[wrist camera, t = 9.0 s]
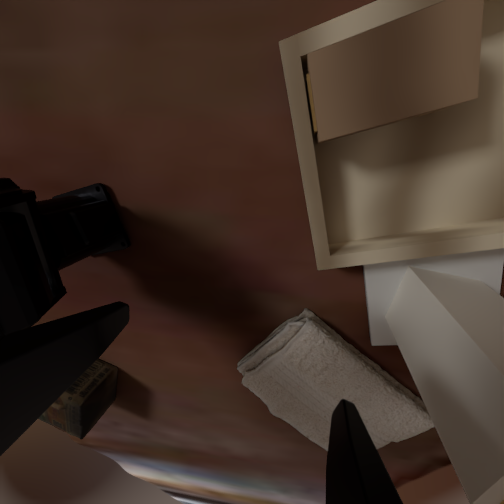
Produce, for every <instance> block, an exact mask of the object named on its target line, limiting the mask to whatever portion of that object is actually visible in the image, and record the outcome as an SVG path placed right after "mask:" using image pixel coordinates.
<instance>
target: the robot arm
mask: <svg viewBox="0 0 504 504" xmlns="http://www.w3.org/2000/svg"><path fill="white" fill-rule="evenodd" d="M99 188H100V189H99ZM35 199H36V195H35V192H34V191H32V190H22V189H20V187H19V186H17V185H16V184H15V183H14V182H13V181H12V180H11V179H10V178H0V456H1V455H2V454H3V453H4V452H5V451H6V450H7V449H8V448H9V447H10V446H11V445H12V444H13V443H14V442H15V441H16V440H17V439H18V438H19V437H20V436H21V435H22V434H23V433H24V432H25V431H26V430H27V429H28V428H29V427H30V426H31V425H32V424H33V423H34V422H35V421H36V420H37V419H38V418H39V417H40V416H41V415H42V414H43V413H44V412H45V411H46V410H47V409H48V408H49V407H50V406H51V405H52V404H53V403H54V402H55V401H56V400H57V399H58V398H59V397H60V396H61V395H62V394H63V393H64V392H65V391H66V390H67V389H68V388H69V387H70V386H71V385H72V384H73V383H74V382H75V381H76V380H77V379H78V378H79V377H80V376H81V375H82V374H83V373H84V372H85V371H86V370H87V369H88V368H89V367H90V366H91V365H92V364H93V363H94V362H95V361H96V360H97V359H98V358H99V357H100V356H101V355H102V354H103V352H104V351H105V350H106V349H107V348H108V347H109V345H110V344H111V343H112V342H113V341H114V339H115V338H116V337H117V336H118V335H119V333H120V332H121V331H122V330H123V329H124V327H125V326H126V325H127V323H128V322H129V305H128V304H126V303H123V302H121V301H119V302H115V303H111V304H108V305H104V306H101V307H98V308H94V309H91V310H87V311H84V312H81V313H77V314H74V315H70V316H67V317H63V318H60V319H57V320H53V321H50V322H46V323H43V324H40V325H36V326H33V327H31V326H32V325H34V324H35V323H36V322H38V321H39V320H40V319H41V317H42V316H43V315H44V314H45V313H46V312H47V311H48V310H49V309H50V308H51V307H52V306H53V305H55V304H56V303H57V302H58V301H59V300H60V299H61V298H62V297H63V296H64V295H65V294H66V293H67V292H66V289H65V287H64V286H63V284H62V280H61V277H60V274H59V270H61V269H63V268H65V267H67V266H69V265H72V264H74V263H76V262H78V261H80V260H82V259H84V258H86V257H89V256H91V255H96V254H101V253H106V252H111V251H117V250H122V249H126V248H128V247H130V241H129V239H128V237H127V235H126V232H125V230H124V228H123V226H122V223H121V221H120V219H119V217H118V214H117V212H116V210H115V208H114V205H113V203H112V201H111V199H110V196H109V194H108V192H107V190H106V187H105V186H104V185H103V184H102V183H97V184H93V185H90V186H87V187H83V188H80V189H77V190H74V191H70V192H67V193H64V194H61V195H57V196H54V197H53V198H52V199H49V200H43V201H38V202H36V200H35ZM124 243H125V244H124ZM326 504H403V503H402V501H401V499H400V497H399V494H398V492H397V490H396V488H395V486H394V484H393V482H392V480H391V478H390V476H389V474H388V472H387V470H386V468H385V466H384V463H383V461H382V459H381V457H380V455H379V453H378V451H377V449H376V447H375V445H374V443H373V441H372V439H371V437H370V435H369V433H368V430H367V428H366V426H365V424H364V422H363V420H362V418H361V416H360V414H359V412H358V410H357V408H356V406H355V404H354V403H352V402H350V401H348V400H346V399H341V400H340V402H339V403H338V405H337V406H336V408H335V409H334V411H333V413H332V417H331V426H330V436H329V445H328V454H327V465H326Z"/></svg>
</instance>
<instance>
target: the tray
mask: <svg viewBox="0 0 504 504" xmlns="http://www.w3.org/2000/svg"><path fill="white" fill-rule="evenodd" d="M443 1H445V0H377V1H375V2H373V3H370V4H368V5H365V6H363V7H361V8H358V9H356V10H353V11H351V12H349V13H346V14H344V15H342V16H339V17H337V18H334V19H332V20H330V21H327V22H325V23H322V24H320V25H318V26H315V27H313V28H310V29H308V30H306V31H303V32H301V33H299V34H296V35H294V36H291V37H289V38H287V39H284V40H282V41H279V46H280V52H281V58H282V64H283V70H284V76H285V81H286V87H287V93H288V99H289V105H290V111H291V117H292V122H293V128H294V134H295V140H296V146H297V152H298V157H299V163H300V169H301V175H302V181H303V187H304V193H305V198H306V204H307V210H308V216H309V222H310V228H311V233H312V239H313V245H314V251H315V257H316V263H317V269H318V270H325V269H333V268H341V267H350V266H358V265H366V264H375V263H383V262H391V261H400V260H408V259H416V258H425V257H433V256H441V255H450V254H458V253H466V252H475V251H483V250H491V249H500V248H504V0H484V6H483V22H482V38H481V54H480V70H479V86H478V98H476V99H473V100H470V101H467V102H464V103H461V104H458V105H454V106H451V107H448V108H445V109H442V110H439V111H436V112H432V113H429V114H425V115H421V116H418V117H414V118H410V119H407V120H403V121H400V122H396V123H392V124H389V125H385V126H381V127H378V128H374V129H370V130H367V131H363V132H359V133H356V134H352V135H348V136H345V137H341V138H337V139H334V140H330V141H327V142H323V143H319V144H317V138H316V134H314V131H313V124H312V117H311V110H310V104H309V97H308V90H307V76H306V74H308V63H307V54H309V53H311V52H314V51H317V50H319V49H322V48H324V47H327V46H329V45H332V44H335V43H337V42H340V41H342V40H345V39H347V38H350V37H353V36H355V35H358V34H360V33H363V32H365V31H368V30H371V29H373V28H376V27H378V26H381V25H383V24H386V23H389V22H391V21H394V20H396V19H399V18H401V17H404V16H407V15H409V14H412V13H414V12H417V11H419V10H422V9H425V8H427V7H430V6H432V5H435V4H437V3H440V2H443Z"/></svg>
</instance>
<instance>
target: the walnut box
mask: <svg viewBox="0 0 504 504" xmlns="http://www.w3.org/2000/svg"><path fill="white" fill-rule="evenodd" d="M483 6H484V0H445V1H443V2H440V3H437V4H435V5H432V6H430V7H427V8H425V9H422V10H419V11H417V12H414V13H412V14H409V15H407V16H404V17H401V18H399V19H396V20H394V21H391V22H389V23H386V24H383V25H381V26H378V27H376V28H373V29H371V30H368V31H365V32H363V33H360V34H358V35H355V36H353V37H350V38H347V39H345V40H342V41H340V42H337V43H335V44H332V45H329V46H327V47H324V48H322V49H319V50H317V51H314V52H311V53H309V54H307V63H308V74H306V76H307V90H308V97H309V104H310V110H311V117H312V124H313V131H314V134H316V138H317V144H319V143H323V142H327V141H330V140H334V139H337V138H341V137H345V136H348V135H352V134H356V133H359V132H363V131H367V130H370V129H374V128H378V127H381V126H385V125H389V124H392V123H396V122H400V121H403V120H407V119H410V118H414V117H418V116H421V115H425V114H429V113H432V112H436V111H439V110H442V109H445V108H448V107H451V106H454V105H458V104H461V103H464V102H467V101H470V100H473V99H476V98H478V86H479V70H480V54H481V38H482V22H483Z"/></svg>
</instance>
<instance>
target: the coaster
mask: <svg viewBox="0 0 504 504" xmlns="http://www.w3.org/2000/svg"><path fill="white" fill-rule="evenodd" d="M503 263H504V248H500V249H491V250H483V251H475V252H466V253H458V254H450V255H441V256H433V257H425V258H416V259H408V260H400V261H391V262H383V263H375V264H366V265H363V272H364V282H365V293H366V303H367V313H368V323H369V333H370V342H371V345H372V346H378V345H397V342H396V340H395V338H394V336H393V334H392V331H391V329H390V327H389V325H388V323H387V320H386V318H385V316H386V314H387V311H388V309H389V307H390V305H391V303H392V301H393V298H394V296H395V294H396V292H397V290H398V288H399V285H400V283H401V281H402V279H403V277H404V275H405V273H406V270H407V268H408V266H411V267H416V268H421V269H426V270H431V271H436V272H441V273H445V274H450V275H455V276H460V277H465V278H470V279H475V280H480V281H482V282H483V283H484V284H486V285H487V286H488V287H490V288H491V289H492V290H494V291H495V292H496V293H498V294H499V295H500V288H501V280H502V272H503Z"/></svg>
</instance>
